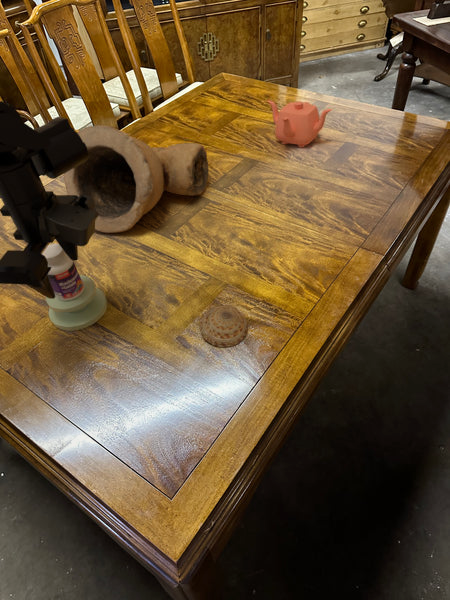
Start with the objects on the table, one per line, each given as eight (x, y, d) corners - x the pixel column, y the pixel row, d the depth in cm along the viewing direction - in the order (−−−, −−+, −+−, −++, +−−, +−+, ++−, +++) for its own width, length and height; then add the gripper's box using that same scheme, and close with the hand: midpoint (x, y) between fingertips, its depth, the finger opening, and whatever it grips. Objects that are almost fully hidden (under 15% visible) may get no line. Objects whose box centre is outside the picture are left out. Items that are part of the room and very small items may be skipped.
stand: (41, 329, 79) (30, 311, 75) (64, 289, 86) (55, 270, 83) (95, 332, 77) (87, 314, 73) (114, 291, 84) (107, 272, 81)
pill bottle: (69, 305, 75) (49, 264, 68) (49, 295, 78) (27, 255, 71) (91, 287, 78) (73, 245, 71) (71, 278, 81) (52, 237, 74)
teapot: (329, 146, 121) (333, 107, 113) (282, 155, 119) (282, 116, 112) (311, 126, 131) (313, 89, 123) (267, 134, 129) (266, 97, 122)
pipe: (214, 209, 119) (181, 240, 92) (119, 204, 124) (63, 233, 98) (212, 119, 108) (175, 126, 82) (109, 119, 114) (44, 125, 88)
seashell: (230, 295, 78) (248, 307, 71) (237, 321, 80) (256, 336, 73) (190, 311, 75) (205, 326, 68) (198, 338, 78) (213, 355, 71)
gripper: (48, 235, 50) (89, 323, 61) (101, 160, 63) (127, 243, 74) (-35, 234, 51) (19, 319, 62) (33, 161, 64) (69, 242, 75)
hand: (64, 278), depth 68 cm, fingers open, 9 cm apart
